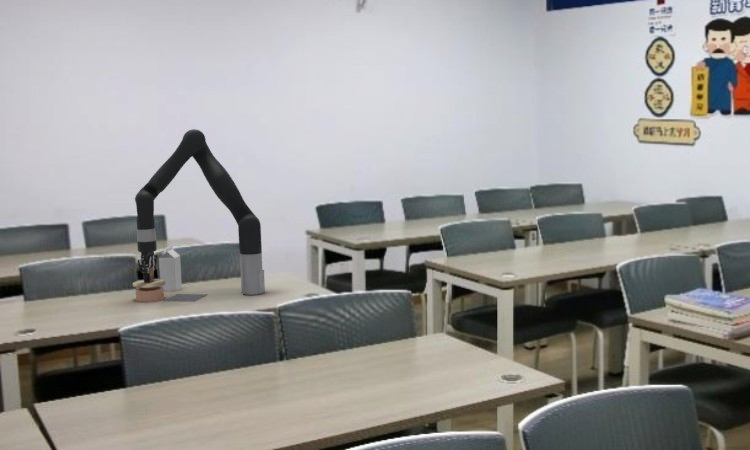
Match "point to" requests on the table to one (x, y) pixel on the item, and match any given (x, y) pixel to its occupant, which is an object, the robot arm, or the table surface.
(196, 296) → the mat
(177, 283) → the milk carton
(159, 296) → the bowl
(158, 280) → the lid
